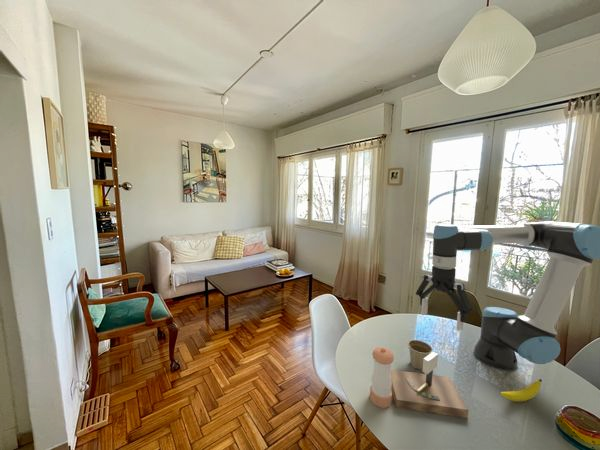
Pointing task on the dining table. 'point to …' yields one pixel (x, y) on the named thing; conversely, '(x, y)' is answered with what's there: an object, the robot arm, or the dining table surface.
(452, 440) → the dining table surface
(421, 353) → the flower pot
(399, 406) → the tuner board
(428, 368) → the white angular block
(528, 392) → the banana
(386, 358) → the salt shaker
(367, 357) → the dining table surface
